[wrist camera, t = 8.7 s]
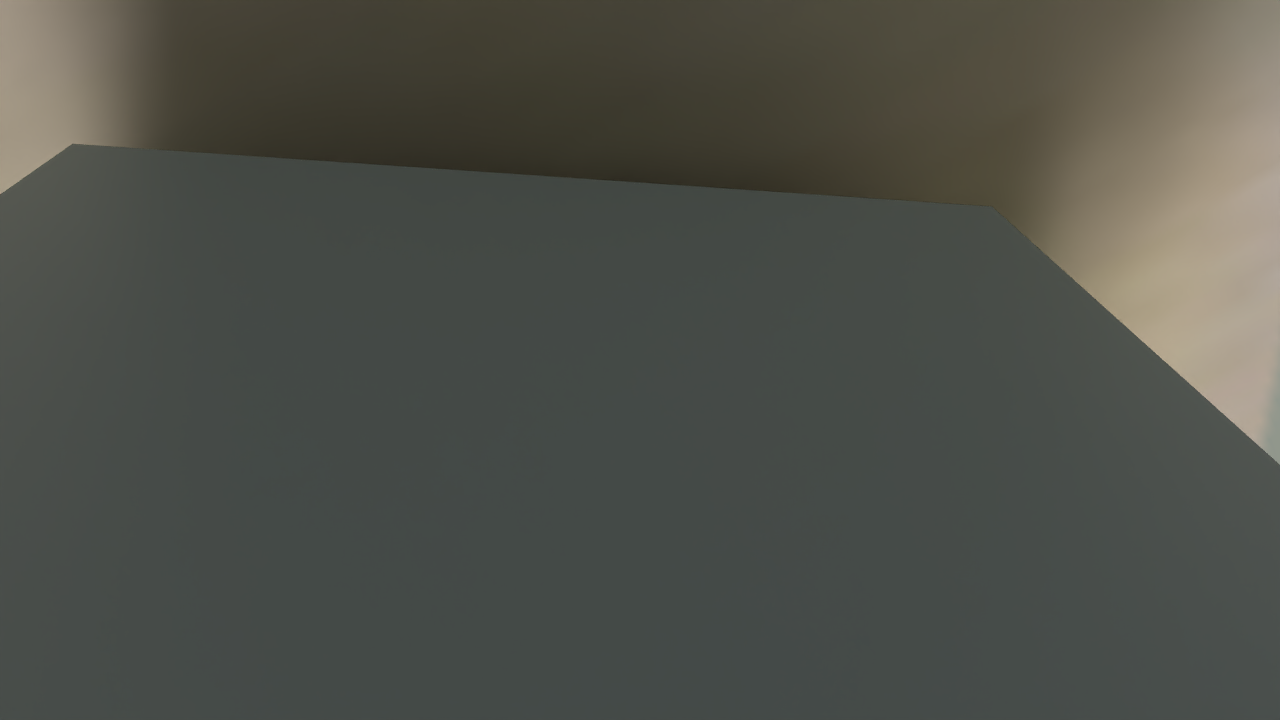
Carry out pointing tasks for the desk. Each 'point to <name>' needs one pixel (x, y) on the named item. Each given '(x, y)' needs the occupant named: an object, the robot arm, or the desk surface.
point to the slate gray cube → (594, 459)
